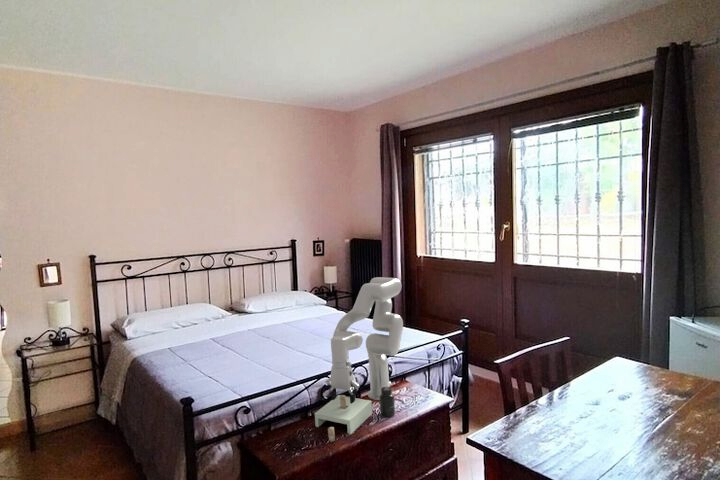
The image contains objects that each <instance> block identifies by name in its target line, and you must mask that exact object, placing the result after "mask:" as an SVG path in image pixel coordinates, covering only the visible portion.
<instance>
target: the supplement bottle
mask: <svg viewBox="0 0 720 480" xmlns="http://www.w3.org/2000/svg"><path fill="white" fill-rule="evenodd" d="M392 392H393V390H392V387H383V388H381V393H382V394H381V395H380V397H379V399H380V400H379V412H380V416H382V417H384V418H391V417H394V416H395V415H396V409H395V408H396V407H395V405H396V403H395V395H394V393H393V394H392Z"/></svg>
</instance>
